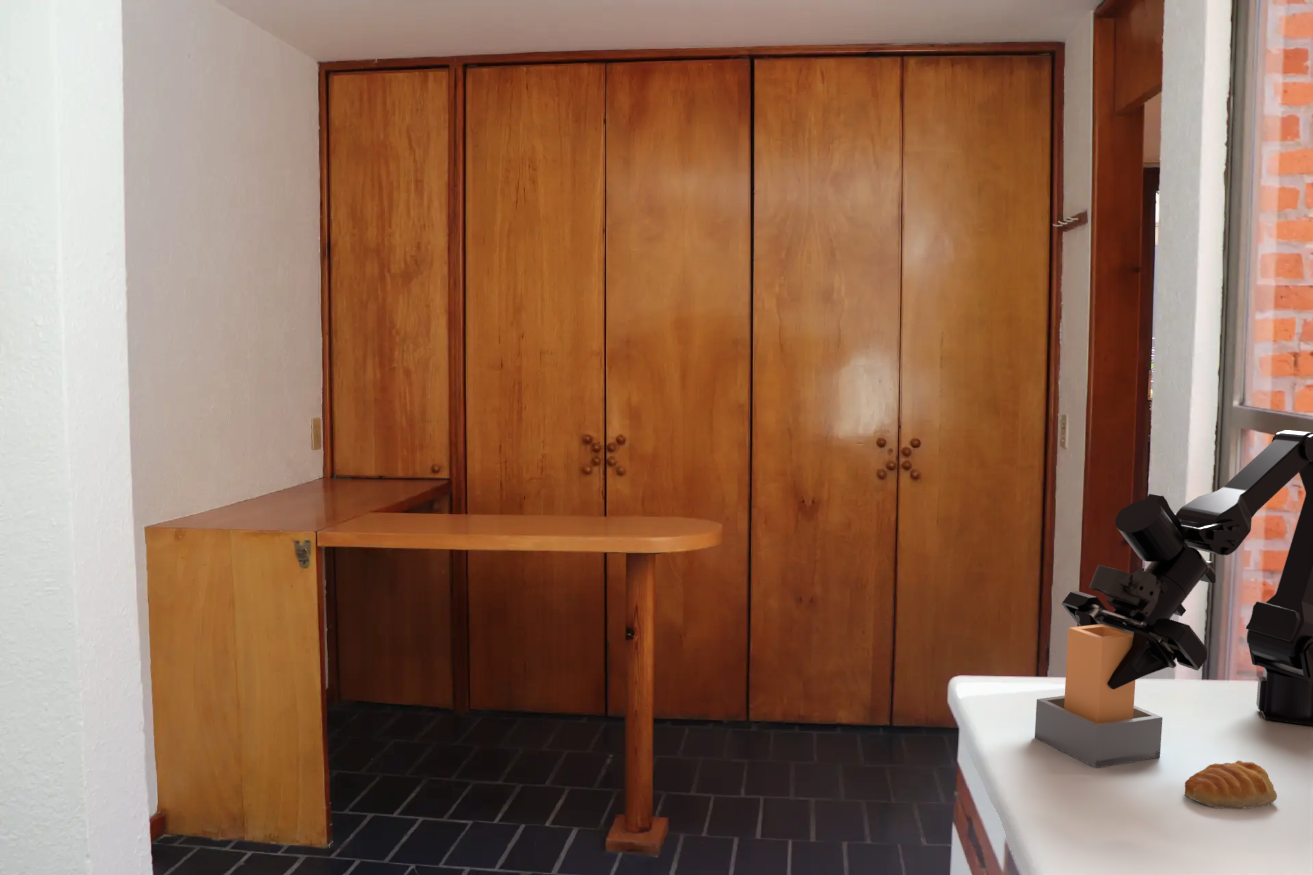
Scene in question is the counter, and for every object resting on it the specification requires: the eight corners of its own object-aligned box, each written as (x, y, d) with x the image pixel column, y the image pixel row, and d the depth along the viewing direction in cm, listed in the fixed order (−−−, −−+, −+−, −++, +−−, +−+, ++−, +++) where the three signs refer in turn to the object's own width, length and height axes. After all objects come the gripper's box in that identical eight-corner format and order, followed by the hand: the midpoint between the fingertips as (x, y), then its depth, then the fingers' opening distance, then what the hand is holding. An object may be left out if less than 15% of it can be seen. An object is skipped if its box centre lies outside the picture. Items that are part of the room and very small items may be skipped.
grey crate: (1096, 727, 137) (1098, 690, 136) (1159, 756, 127) (1162, 717, 127) (1034, 737, 133) (1036, 698, 132) (1095, 767, 123) (1097, 726, 123)
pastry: (1216, 817, 111) (1218, 783, 111) (1166, 792, 118) (1168, 759, 117) (1281, 806, 114) (1284, 772, 114) (1229, 782, 121) (1231, 750, 120)
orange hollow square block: (1097, 719, 133) (1103, 623, 132) (1132, 734, 128) (1138, 635, 127) (1063, 724, 131) (1068, 627, 130) (1096, 740, 126) (1102, 639, 125)
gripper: (1076, 530, 138) (1005, 618, 135) (1195, 558, 121) (1117, 660, 117) (1119, 584, 141) (1050, 672, 138) (1240, 619, 124) (1165, 720, 121)
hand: (1091, 679), depth 129 cm, fingers closed on orange hollow square block, 6 cm apart
